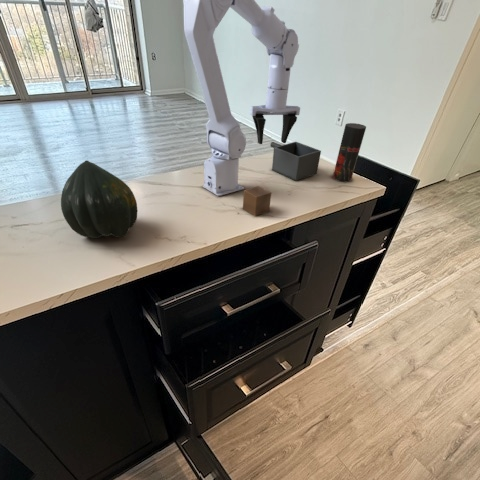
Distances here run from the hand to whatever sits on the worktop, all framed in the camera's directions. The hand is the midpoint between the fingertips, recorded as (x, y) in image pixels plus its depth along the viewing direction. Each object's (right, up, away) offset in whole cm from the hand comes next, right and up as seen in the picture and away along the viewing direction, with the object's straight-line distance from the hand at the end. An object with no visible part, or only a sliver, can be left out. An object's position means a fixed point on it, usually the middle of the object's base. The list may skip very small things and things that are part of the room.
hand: (271, 142), depth 96 cm
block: (-5, -25, -12) cm, 28 cm away
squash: (-40, -33, -23) cm, 57 cm away
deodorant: (+24, -8, +7) cm, 26 cm away
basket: (+6, -3, +10) cm, 13 cm away
